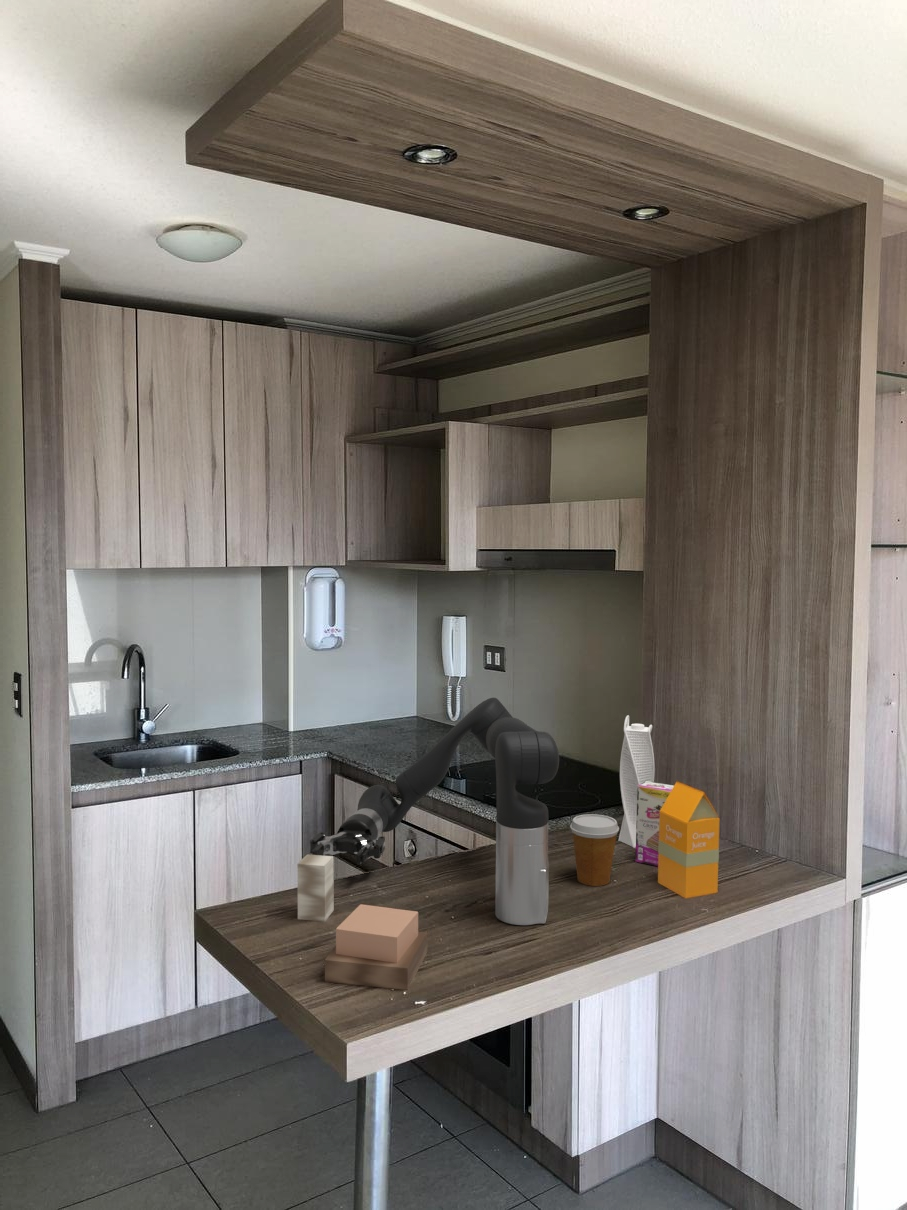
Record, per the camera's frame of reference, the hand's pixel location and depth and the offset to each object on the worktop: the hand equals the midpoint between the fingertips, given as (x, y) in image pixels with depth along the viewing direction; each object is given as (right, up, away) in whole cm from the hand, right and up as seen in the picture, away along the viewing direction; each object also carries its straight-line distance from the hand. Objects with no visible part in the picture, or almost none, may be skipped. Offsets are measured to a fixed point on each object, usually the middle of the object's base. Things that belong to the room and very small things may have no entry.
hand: (336, 857), depth 181 cm
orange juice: (+68, -7, +3) cm, 68 cm away
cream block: (-2, -7, -12) cm, 14 cm away
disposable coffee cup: (+50, -6, +6) cm, 51 cm away
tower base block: (+10, -9, -31) cm, 34 cm away
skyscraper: (+62, -4, +29) cm, 69 cm away
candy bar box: (+66, -6, +15) cm, 68 cm away
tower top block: (+10, -5, -31) cm, 33 cm away
